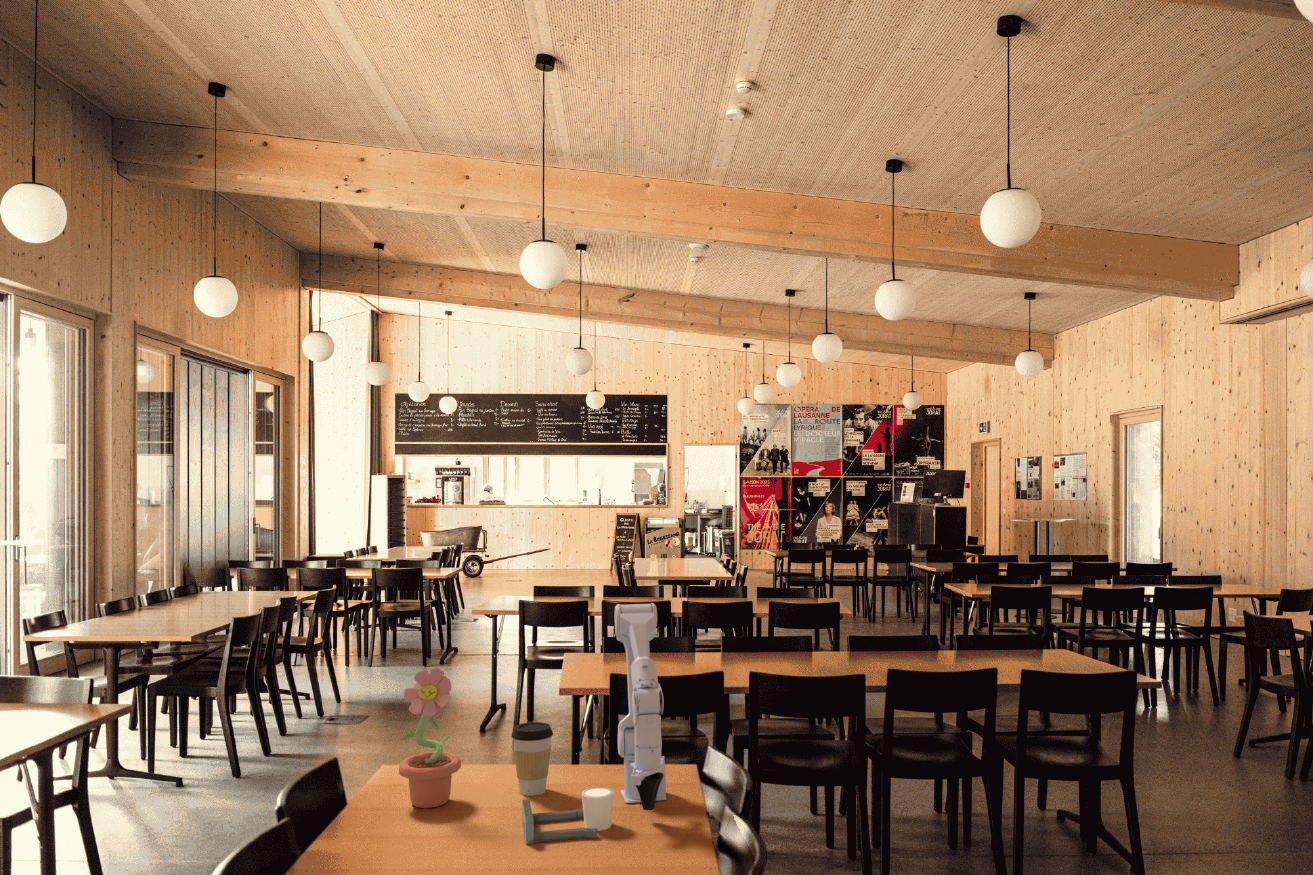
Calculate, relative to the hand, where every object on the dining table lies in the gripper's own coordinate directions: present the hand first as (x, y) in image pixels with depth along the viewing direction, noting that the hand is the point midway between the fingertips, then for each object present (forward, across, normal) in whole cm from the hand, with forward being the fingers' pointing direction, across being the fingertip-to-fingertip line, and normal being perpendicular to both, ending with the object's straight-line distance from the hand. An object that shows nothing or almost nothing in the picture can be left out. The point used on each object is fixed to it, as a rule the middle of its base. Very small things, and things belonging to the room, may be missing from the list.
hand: (648, 809), depth 189 cm
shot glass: (+3, +6, -9) cm, 11 cm away
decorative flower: (+3, +7, -52) cm, 52 cm away
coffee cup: (+3, -8, -33) cm, 34 cm away
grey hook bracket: (+2, +11, -17) cm, 20 cm away
